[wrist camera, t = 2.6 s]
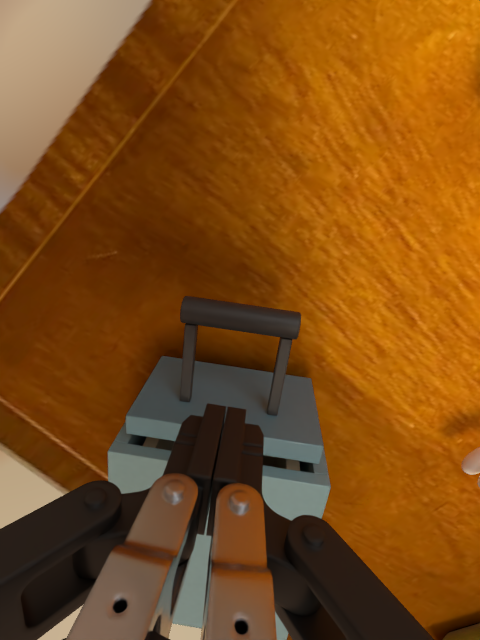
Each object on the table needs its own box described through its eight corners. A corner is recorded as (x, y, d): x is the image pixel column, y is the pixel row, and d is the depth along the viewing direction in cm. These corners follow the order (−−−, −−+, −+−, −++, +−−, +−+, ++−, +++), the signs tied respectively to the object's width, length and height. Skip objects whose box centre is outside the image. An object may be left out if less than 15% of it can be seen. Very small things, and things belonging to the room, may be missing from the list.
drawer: (166, 268, 23) (125, 304, 17) (331, 292, 23) (353, 337, 17) (155, 489, 30) (124, 572, 24) (281, 509, 30) (283, 599, 24)
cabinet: (156, 368, 27) (107, 451, 19) (313, 392, 27) (331, 487, 19) (150, 504, 32) (110, 612, 24) (282, 525, 32) (285, 643, 24)
